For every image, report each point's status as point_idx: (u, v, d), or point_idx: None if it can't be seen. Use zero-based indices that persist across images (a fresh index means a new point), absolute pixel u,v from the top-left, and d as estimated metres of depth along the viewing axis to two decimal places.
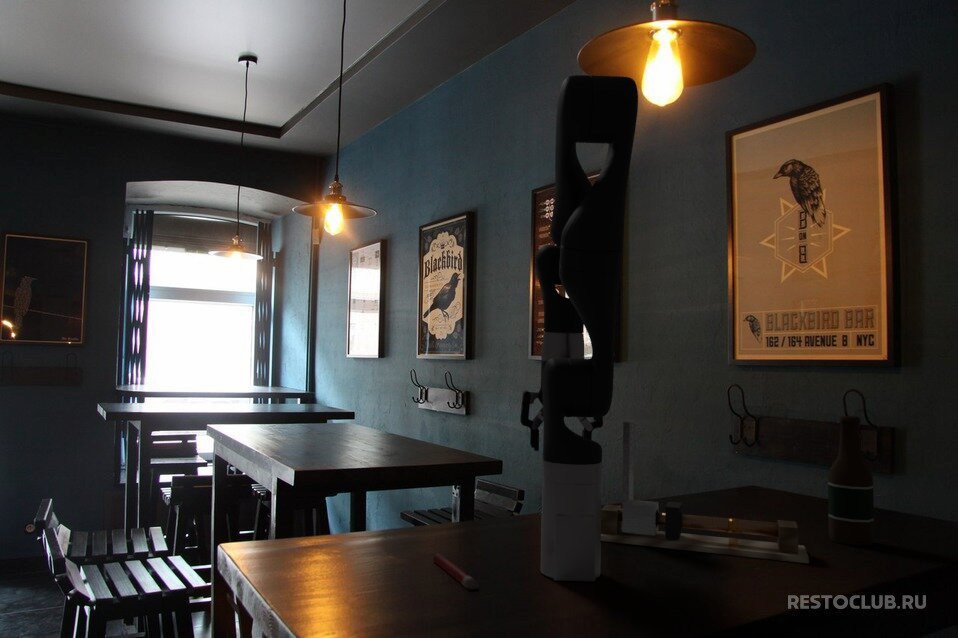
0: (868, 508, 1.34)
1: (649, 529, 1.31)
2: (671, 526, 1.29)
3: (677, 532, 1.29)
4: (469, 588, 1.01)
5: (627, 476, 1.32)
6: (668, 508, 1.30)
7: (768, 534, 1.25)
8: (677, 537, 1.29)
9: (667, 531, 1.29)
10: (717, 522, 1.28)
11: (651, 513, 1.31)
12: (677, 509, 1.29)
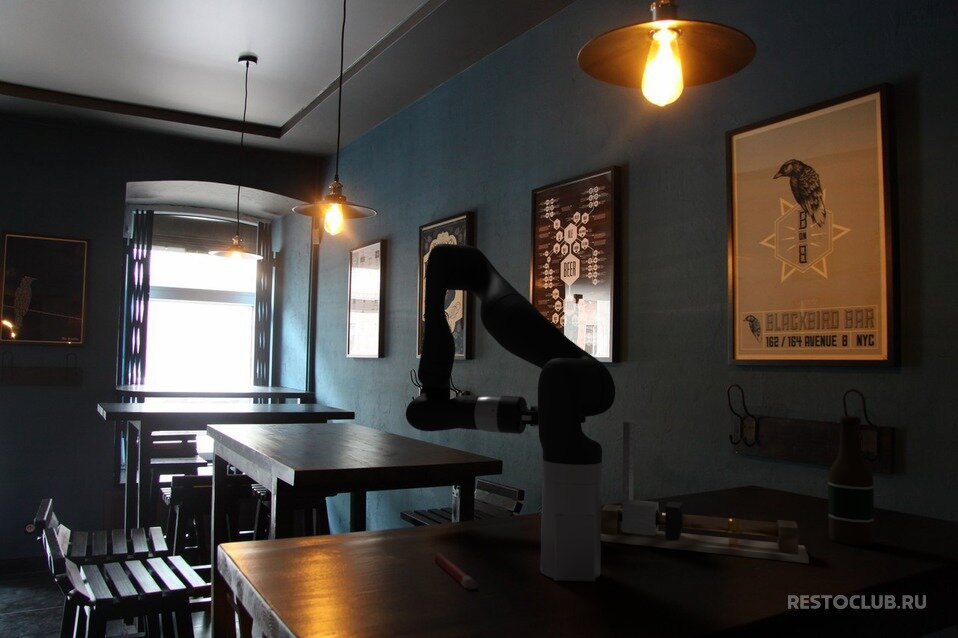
0: (868, 508, 1.34)
1: (649, 529, 1.31)
2: (671, 526, 1.29)
3: (677, 532, 1.29)
4: (468, 588, 1.01)
5: (627, 476, 1.32)
6: (668, 508, 1.30)
7: (768, 534, 1.25)
8: (677, 537, 1.29)
9: (667, 531, 1.29)
10: (717, 522, 1.28)
11: (651, 513, 1.31)
12: (677, 509, 1.29)
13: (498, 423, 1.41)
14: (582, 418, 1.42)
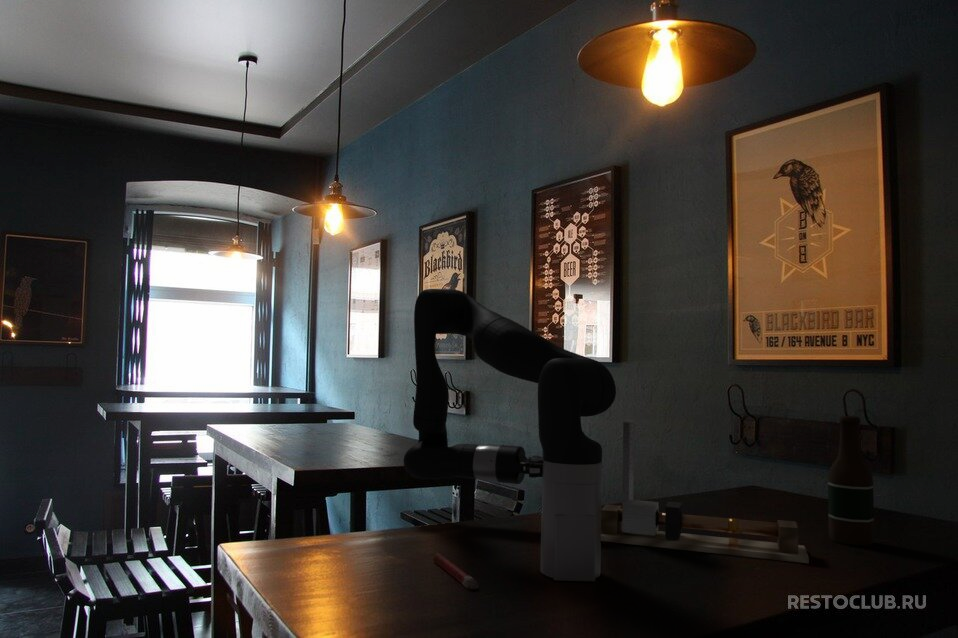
0: (868, 508, 1.34)
1: (649, 529, 1.31)
2: (671, 526, 1.29)
3: (677, 532, 1.29)
4: (469, 588, 1.01)
5: (627, 476, 1.32)
6: (668, 508, 1.30)
7: (768, 534, 1.25)
8: (677, 537, 1.29)
9: (667, 531, 1.29)
10: (717, 522, 1.28)
11: (651, 513, 1.31)
12: (677, 509, 1.29)
13: (496, 474, 1.41)
14: None
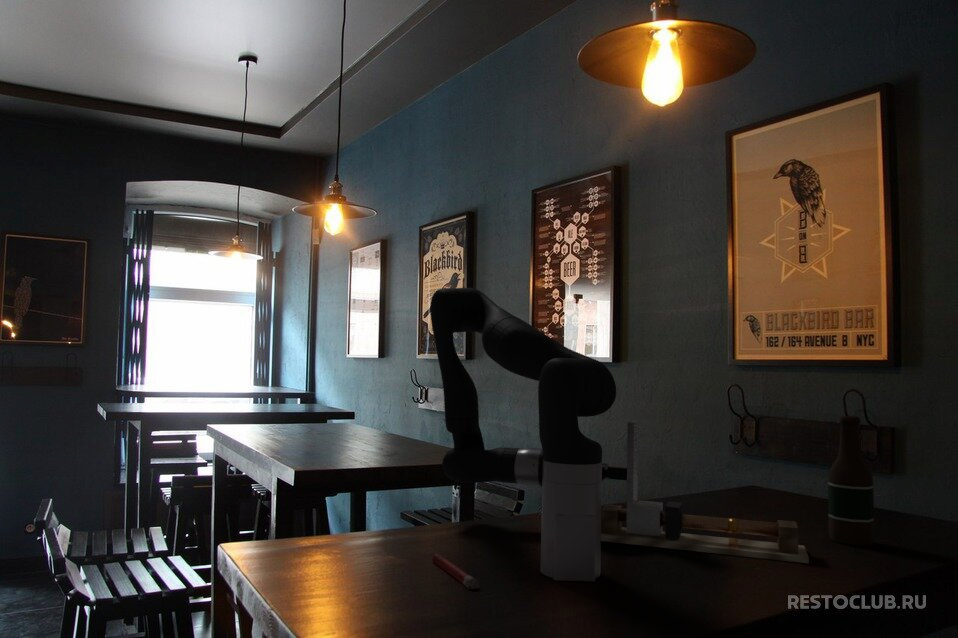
0: (868, 508, 1.34)
1: (654, 529, 1.30)
2: (671, 526, 1.29)
3: (677, 532, 1.29)
4: (470, 588, 1.01)
5: (631, 476, 1.32)
6: (668, 508, 1.30)
7: (768, 534, 1.25)
8: (677, 537, 1.29)
9: (667, 531, 1.29)
10: (717, 522, 1.28)
11: (655, 513, 1.30)
12: (677, 509, 1.29)
13: (539, 478, 1.38)
14: (626, 475, 1.35)
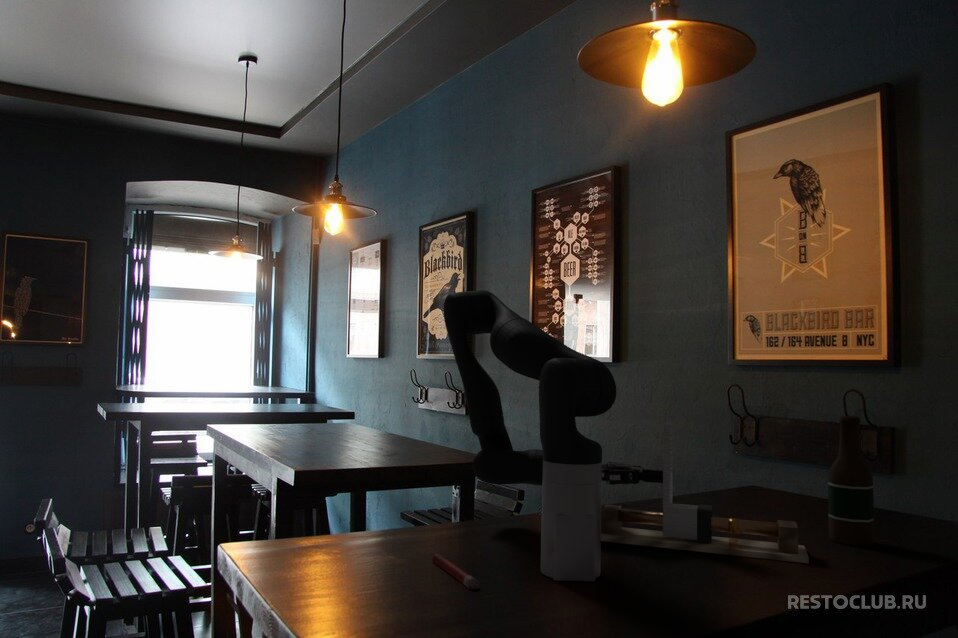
0: (868, 508, 1.34)
1: (691, 533, 1.28)
2: (703, 529, 1.27)
3: (709, 535, 1.27)
4: (471, 588, 1.01)
5: (668, 479, 1.30)
6: (700, 511, 1.28)
7: (768, 534, 1.25)
8: (709, 540, 1.27)
9: (699, 534, 1.27)
10: (717, 522, 1.28)
11: (693, 517, 1.28)
12: (709, 512, 1.27)
13: None
14: None
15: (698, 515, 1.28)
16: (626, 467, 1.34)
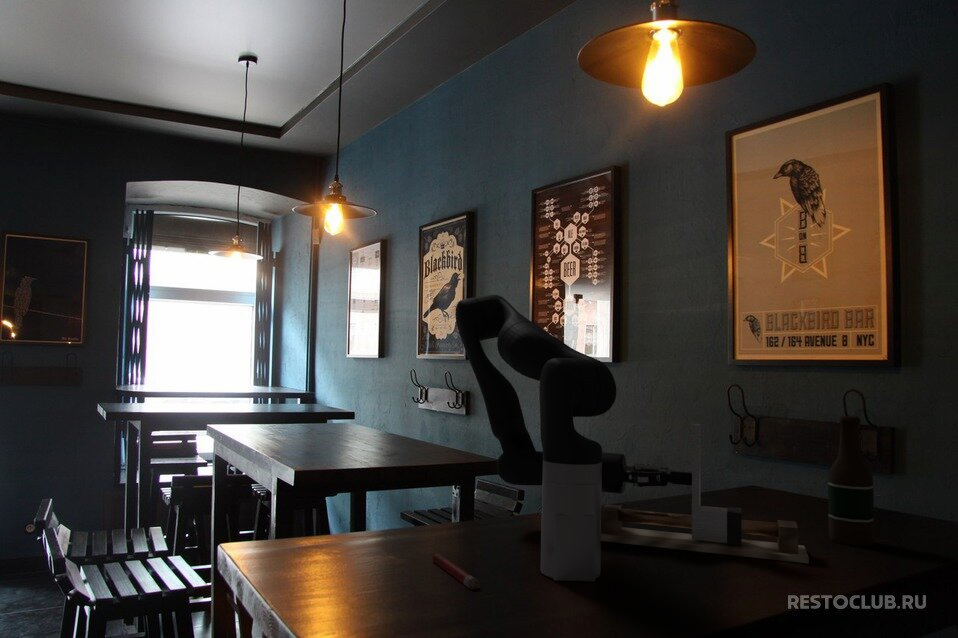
0: (868, 508, 1.34)
1: (721, 536, 1.26)
2: (733, 532, 1.25)
3: (739, 538, 1.25)
4: (471, 588, 1.01)
5: (697, 481, 1.28)
6: (730, 514, 1.26)
7: (768, 534, 1.25)
8: (739, 543, 1.25)
9: (729, 537, 1.26)
10: None
11: (722, 520, 1.26)
12: (739, 515, 1.25)
13: None
14: None
15: (728, 518, 1.26)
16: (654, 469, 1.32)
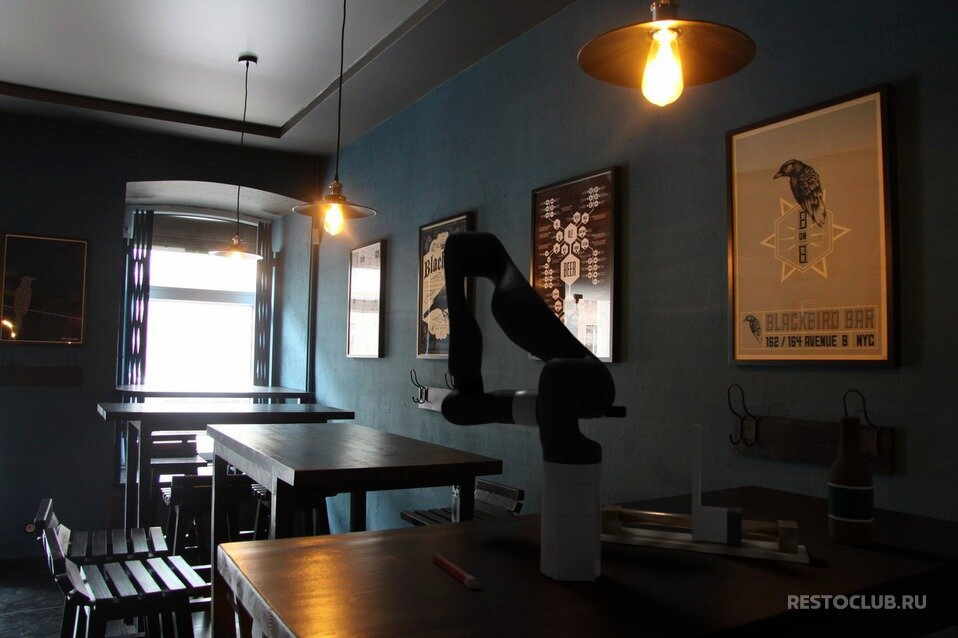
0: (868, 508, 1.34)
1: (721, 536, 1.26)
2: (734, 532, 1.25)
3: (739, 538, 1.25)
4: (472, 588, 1.01)
5: (697, 481, 1.28)
6: (730, 514, 1.26)
7: (768, 534, 1.25)
8: (740, 543, 1.25)
9: (729, 537, 1.26)
10: None
11: (722, 520, 1.26)
12: (739, 515, 1.25)
13: (537, 417, 1.39)
14: None
15: (728, 518, 1.26)
16: None
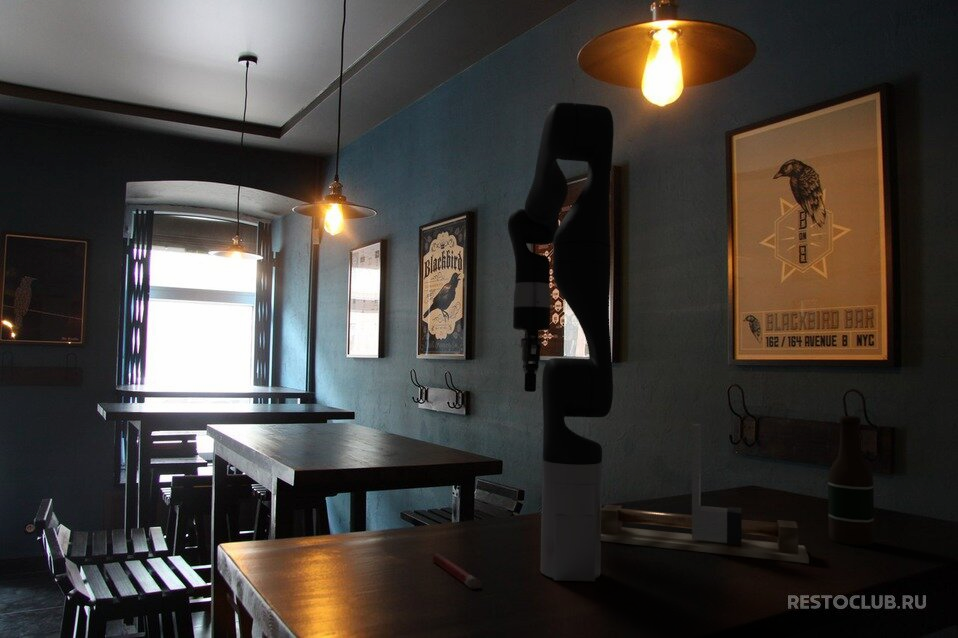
0: (868, 508, 1.34)
1: (721, 536, 1.26)
2: (734, 532, 1.25)
3: (739, 538, 1.25)
4: (472, 587, 1.01)
5: (697, 481, 1.28)
6: (730, 514, 1.26)
7: (768, 534, 1.25)
8: (740, 543, 1.25)
9: (729, 537, 1.26)
10: None
11: (722, 520, 1.26)
12: (739, 515, 1.25)
13: (525, 307, 1.41)
14: None
15: (728, 518, 1.26)
16: (538, 357, 1.43)
